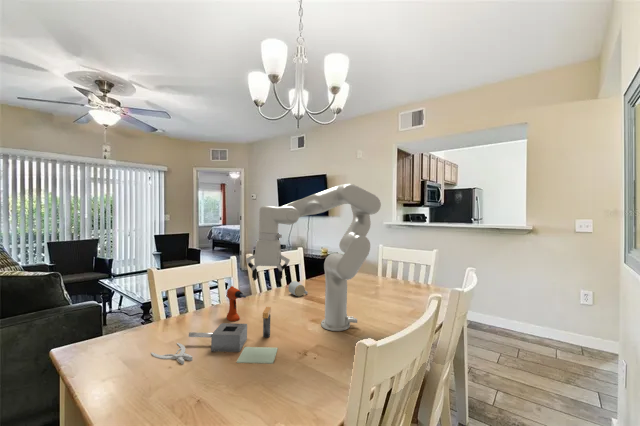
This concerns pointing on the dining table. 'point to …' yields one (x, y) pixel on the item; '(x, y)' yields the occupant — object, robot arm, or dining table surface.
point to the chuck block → (226, 337)
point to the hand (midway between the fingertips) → (267, 280)
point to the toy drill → (233, 303)
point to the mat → (257, 355)
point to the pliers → (176, 355)
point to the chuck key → (266, 322)
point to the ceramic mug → (297, 289)
